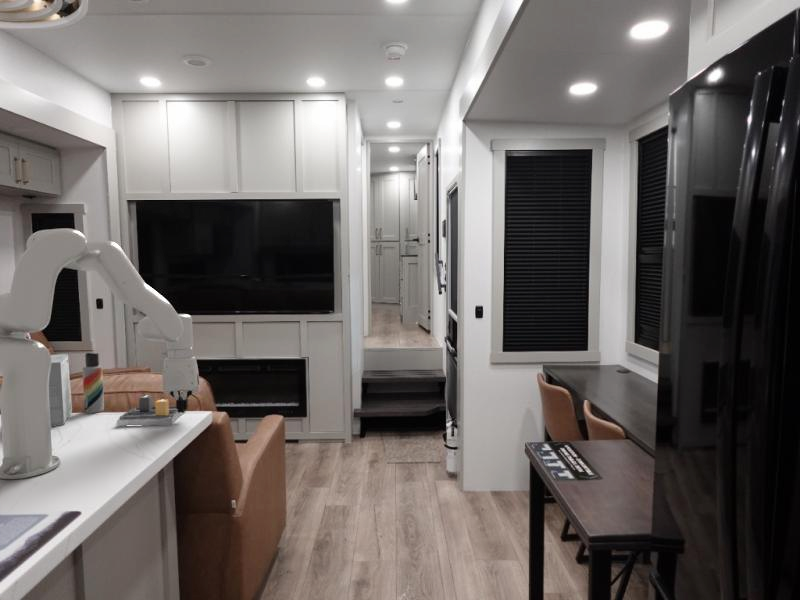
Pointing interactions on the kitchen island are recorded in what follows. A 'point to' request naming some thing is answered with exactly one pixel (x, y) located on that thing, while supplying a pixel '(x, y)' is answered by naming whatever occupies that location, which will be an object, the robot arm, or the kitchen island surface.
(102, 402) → the lotion bottle
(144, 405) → the fader
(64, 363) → the hard drive box
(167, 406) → the fader
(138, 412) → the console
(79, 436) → the kitchen island surface
